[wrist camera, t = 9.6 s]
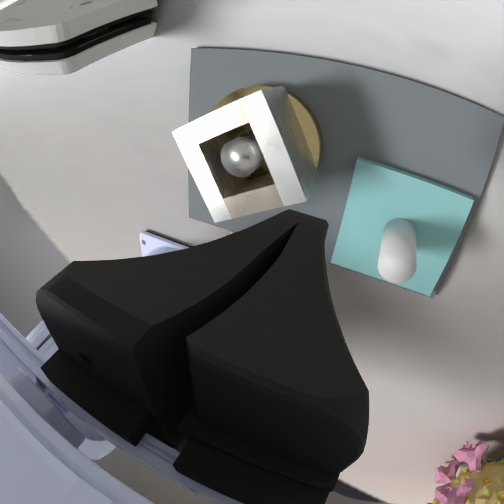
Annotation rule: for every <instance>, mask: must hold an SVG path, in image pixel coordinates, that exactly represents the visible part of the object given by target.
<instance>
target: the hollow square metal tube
mask: <svg viewBox="0 0 504 504" xmlns="http://www.w3.org/2000/svg"><path fill="white" fill-rule="evenodd" d="M246 123H250V125H251V128H252V130H253V132H254V135H255V137H256V139H257V142H258V144H259V146H260V149H261V151H262V154H263V156H264V158H265V161H266V163H267V166H268V168H269V170H270V173H267V174H264V175H261V176H257V177H254V178H251V179H246V177H236V176H234V175H232V174H230V173H229V172H228V171H227V170H226V169H225V168H224V166H223V164H222V162H221V150H222V148H223V146H224V145H225V144H226V143H227V142H229V141H230V140H229V137H228V135H227V133H226V132H227V131H229V130H232V129H234V128H236V127H239V126H241V125H244V124H246ZM173 134H174V137H175V139H176V141H177V143H178V145H179V148H180V150H181V152H182V154H183V156H184V158H185V161H186V163H187V165H188V167H189V169H190V171H191V173H192V176H193V178H194V180H195V182H196V184H197V186H198V188H199V190H200V193H201V195H202V197H203V199H204V201H205V203H206V205H207V207H208V210H209V212H210V214H211V216H212V218H213V220H214V222H215V223H217V222H221V221H225V220H229V219H233V218H237V217H241V216H245V215H250V214H254V213H258V212H262V211H267V210H271V209H275V208H280V207H284V206H288V205H293V204H297V203H302V202H306V201H307V200H308V198H309V197H310V196H311V194H312V193H313V191H314V190H315V188H316V187H317V186H318V184H319V183H320V181H321V179H320V176H319V173H318V171H317V168H316V165H315V162H314V160H313V157H312V154H311V152H310V149H309V146H308V144H307V141H306V139H305V136H304V134H303V131H302V128H301V126H300V123H299V121H298V118H297V116H296V114H295V111H294V109H293V106H292V104H291V102H290V99H289V97H288V94H287V92H286V90H285V87H284V85H283V86H278V87H273V88H267V89H262V90H259V91H257V92H255V93H252V94H250V95H248V96H245V97H243V98H241V99H239V100H236V101H234V102H232V103H230V104H228V105H225V106H223V107H221V108H219V109H217V110H215V111H213V112H211V113H209V114H207V115H205V116H203V117H201V118H199V119H197V120H195V121H193V122H191V123H189V124H187V125H185V126H183V127H181V128H179V129H177V130H175V131H173Z"/></svg>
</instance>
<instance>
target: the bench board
mask: <svg viewBox="0 0 504 504" xmlns="http://www.w3.org/2000/svg"><path fill="white" fill-rule="evenodd" d="M256 85H271V86H276V87H278V86H283V85H284V87H285V90H287V91H289V92H291V93H293V94H295V95H296V96H297V97H299V98H300V99H301V100H302V101H303V102H305V103H306V104H307V106H308V107H309V108H310V109H311V111H312V112H313V114H314V115H315V117H316V119H317V121H318V123H319V126H320V129H321V132H322V138H323V154H322V159H321V163H320V165H319V168H318V170H317V171H318V173H319V176H320V179H321V181H320V183H319V184H318V186H317V187H316V188H315V190H314V191H313V193H312V194H311V196H310V197H309V198H308V200H307V201H306V202H302V203H297V204H293V205H288V206H284V207H280V208H275V209H271V210H267V211H262V212H258V213H254V214H250V215H245V216H241V217H237V218H233V219H229V220H225V221H221V222H217V223H215V222H214V220H213V218H212V216H211V214H210V212H209V210H208V207H207V205H206V203H205V201H204V199H203V197H202V195H201V193H200V190H199V188H198V186H197V184H196V182H195V180H194V178H193V176H192V173H191V171H190V169H189V167H188V174H189V218H192V219H196V220H199V221H202V222H205V223H208V224H211V225H214V226H218V227H221V228H224V229H227V230H230V231H233V232H238V231H241V230H243V229H246V228H248V227H250V226H253V225H255V224H257V223H259V222H262V221H264V220H266V219H268V218H270V217H272V216H275V215H277V214H279V213H281V212H283V211H285V210H288V209H291V210H294V211H298V212H301V213H304V214H308V215H311V216H314V217H318V218H321V219H324V220H327V222H328V224H329V227H328V231H327V235H326V239H325V262H328V263H331V259H332V256H333V252H334V249H335V245H336V241H337V238H338V234H339V230H340V227H341V223H342V219H343V215H344V211H345V207H346V203H347V199H348V195H349V191H350V187H351V183H352V178H353V174H354V170H355V165H356V161H357V158H358V157H361V158H364V159H367V160H371V161H374V162H377V163H381V164H384V165H387V166H390V167H393V168H396V169H399V170H402V171H405V172H408V173H411V174H414V175H417V176H420V177H423V178H425V179H428V180H431V181H434V182H436V183H439V184H442V185H444V186H447V187H450V188H452V189H455V190H457V191H460V192H462V193H465V194H467V195H470V196H472V197H473V200H474V202H473V204H472V207H471V210H470V212H469V214H468V217H467V219H466V222H465V224H464V226H463V229H462V231H461V233H460V236H459V238H458V240H457V242H456V244H455V247H454V249H453V251H452V253H451V255H450V257H449V259H448V261H447V263H446V265H445V267H444V269H443V271H442V273H441V275H440V277H439V279H438V281H437V283H436V285H435V287H434V289H433V291H432V293H431V294H430V296H428V297H431V298H433V297H434V295H435V293H436V291H437V289H438V288H439V286H440V284H441V282H442V280H443V278H444V276H445V274H446V272H447V270H448V268H449V267H450V265H451V262H452V260H453V258H454V256H455V254H456V252H457V250H458V248H459V246H460V244H461V241H462V239H463V237H464V235H465V233H466V230H467V228H468V226H469V223H470V221H471V219H472V216H473V214H474V211H475V209H476V206H477V204H478V201H479V199H480V196H481V194H482V191H483V188H484V185H485V183H486V180H487V177H488V174H489V171H490V168H491V165H492V162H493V159H494V156H495V153H496V149H497V146H498V143H499V139H500V136H501V132H502V128H503V124H504V117H503V116H501V115H499V114H497V113H495V112H492V111H490V110H488V109H486V108H484V107H481V106H479V105H477V104H474V103H472V102H470V101H467V100H465V99H462V98H460V97H457V96H455V95H452V94H449V93H447V92H444V91H441V90H438V89H435V88H433V87H430V86H427V85H424V84H421V83H418V82H414V81H411V80H408V79H405V78H401V77H398V76H394V75H391V74H387V73H383V72H379V71H375V70H371V69H367V68H363V67H359V66H354V65H350V64H345V63H340V62H335V61H330V60H324V59H318V58H312V57H306V56H299V55H291V54H283V53H275V52H265V51H253V50H238V49H215V48H191V67H190V93H189V123H191V122H193V121H195V120H197V119H199V118H201V117H203V116H205V115H207V114H209V113H211V112H213V110H214V109H215V107H216V106H217V104H218V103H219V102H220V101H221V100H222V99H223V98H225V97H226V96H227V95H228V94H230V93H232V92H234V91H236V90H239V89H241V88H246V87H250V86H256ZM331 264H333V263H331ZM334 265H336V264H334ZM337 266H339V265H337ZM340 267H342V266H340ZM343 268H345V267H343ZM346 269H348V268H346ZM349 270H351V269H349ZM352 271H354V270H352ZM354 272H357V271H354ZM357 273H360V272H357ZM360 274H363V273H360ZM363 275H366V274H363ZM366 276H369V275H366ZM369 277H372V276H369ZM372 278H375V277H372ZM375 279H378V278H375ZM378 280H381V279H378ZM381 281H384V280H381ZM384 282H387V281H384ZM387 283H390V282H387ZM390 284H392V283H390ZM393 285H395V284H393ZM396 286H398V285H396ZM399 287H401V286H399ZM402 288H404V287H402ZM405 289H407V288H405ZM407 290H410V289H407ZM410 291H413V290H410ZM413 292H416V291H413ZM416 293H419V292H416ZM419 294H422V293H419ZM422 295H424V294H422ZM425 296H427V295H425Z"/></svg>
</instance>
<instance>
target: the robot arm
mask: <svg viewBox="0 0 504 504" xmlns="http://www.w3.org/2000/svg"><path fill="white" fill-rule="evenodd" d="M328 227H329V224H328V222H327V220H324V219H321V218H318V217H314V216H311V215H308V214H304V213H301V212H298V211H294V210H291V209H288V210H285V211H283V212H281V213H279V214H277V215H275V216H272V217H270V218H268V219H266V220H264V221H262V222H259V223H257V224H255V225H253V226H250V227H248V228H246V229H243V230H241V231H238V232H235V233H233V234H230V235H228V236H225V237H223V238H220V239H217V240H214V241H211V242H208V243H204V244H201V245H197V246H194V247H190V248H189V247H186V246H184V245H181V244H178V243H175V242H173V241H170V240H167V239H165V238H162V237H159V236H156V235H154V234H151V233H148V232H146V231H142V232H141V233H140V234H139V237H140V244H141V251H142V257H137V258H128V259H117V260H99V261H73V262H72V263H70V264H69V265H68V266H67V267H66V268H64V269H63V270H62V271H61V272H59V273H58V274H57V275H56V276H54V277H53V278H52V279H51V280H50V281H48V282H47V283H46V284H45V285H44V286H42V287H41V288H40V289H39V290H38V291H37V295H36V303H37V307H38V310H39V312H40V315H41V317H42V319H43V320H42V321H41V322H40V323H39V324H38V325H37V326H36V327H35V328H34V329H33V330H32V332H31V333H30V334H29V335H28V336H27V337H26V339H25V338H24V337H23V336H22V335H21V334H20V333H19V332H18V331H17V330H16V329H15V328H14V327H13V326H12V325H11V324H10V323H9V322H8V321H7V320H6V318H5V317H4V316H3V315H2V314H1V313H0V504H154V503H153V502H151V501H149V500H148V499H146V498H144V497H143V496H141V495H139V494H138V493H137V492H135V491H134V490H132V489H130V488H129V487H127V486H126V485H125V484H123V483H122V482H120V481H118V480H117V479H116V478H114V477H113V476H111V475H110V474H109V473H107V472H106V471H105V470H103V469H102V468H101V467H99V466H98V465H97V464H95V463H94V462H93V461H92V460H90V459H101V458H102V457H103V456H105V455H107V454H109V452H111V451H112V450H113V449H114V448H115V447H117V448H119V449H120V450H122V451H123V452H124V453H126V454H128V455H129V456H130V457H132V458H134V459H135V460H137V461H138V462H140V463H141V464H143V465H145V466H146V467H148V468H150V469H151V470H153V471H155V472H156V473H158V474H159V475H161V476H163V477H165V478H166V479H168V480H170V481H172V482H173V483H175V484H177V485H179V486H181V487H182V488H184V489H186V490H188V491H190V492H192V493H194V494H196V495H198V496H200V497H202V498H204V499H206V500H208V501H210V502H213V503H215V504H325V502H326V499H327V497H328V494H329V492H331V491H333V489H334V487H335V485H336V482H337V480H338V477H339V474H340V472H342V471H343V470H344V469H346V468H347V467H348V466H350V465H351V464H352V463H354V462H355V461H356V460H357V459H358V458H359V457H360V456H361V454H362V453H363V451H364V448H365V444H366V439H367V433H368V425H369V391H368V389H367V387H366V385H365V383H364V381H363V379H362V377H361V375H360V373H359V371H358V369H357V367H356V365H355V363H354V361H353V359H352V356H351V354H350V352H349V349H348V347H347V345H346V343H345V340H344V337H343V334H342V331H341V328H340V326H339V323H338V320H337V317H336V314H335V310H334V307H333V303H332V299H331V295H330V290H329V285H328V279H327V272H326V264H325V239H326V235H327V231H328Z"/></svg>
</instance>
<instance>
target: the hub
mask: <svg viewBox="0 0 504 504" xmlns="http://www.w3.org/2000/svg"><path fill="white" fill-rule="evenodd" d="M273 87H276V86H271V85H256V86H250V87H246V88H241V89H239V90H236V91H234V92H232V93H230V94H228V95H227V96H226V97H225V98H223V99H222V100H221V101H220V102H219V103H218V104H217V106H216V107H215V109H214V110H213V111H215V110H217V109H219V108H221V107H223V106H225V105H228V104H230V103H232V102H234V101H236V100H239V99H241V98H243V97H245V96H248V95H250V94H252V93H255V92H257V91H259V90H262V89H267V88H273ZM286 92H287V94H288V97H289V99H290V102H291V104H292V106H293V109H294V111H295V114H296V116H297V118H298V121H299V123H300V126H301V128H302V131H303V134H304V136H305V139H306V141H307V144H308V146H309V149H310V152H311V154H312V157H313V160H314V162H315V165H316V168H317V170H318V168H319V165H320V163H321V159H322V154H323V138H322V132H321V129H320V126H319V123H318V121H317V119H316V117H315V115H314V114H313V112H312V111H311V109H310V108H309V107H308V106H307V104H306V103H305V102H303V101H302V100H301V99H300V98H299V97H297V96H296V95H295V94H293V93H291V92H289V91H287V90H286ZM226 133H227V135H228V137H229V140H230V141H229V142H227V143H226V144H225V145H224V146H223V148H222V150H221V162H222V164H223V166H224V168H225V169H226V170H227V171H228V172H229V173H230V174H232V175H234V176H236V177H246V179H251V178H254V177H257V176H261V175H264V174H267V173H270V170H269V168H268V166H267V163H266V161H265V158H264V156H263V154H262V151H261V149H260V146H259V144H258V142H257V139H256V137H255V135H254V132H253V130H252V128H251V125H250V123H246V124H244V125H241V126H239V127H236V128H234V129H232V130H229V131H227V132H226Z"/></svg>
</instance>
